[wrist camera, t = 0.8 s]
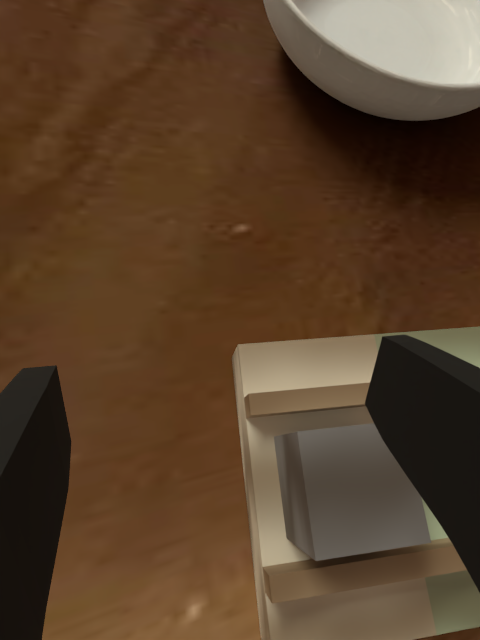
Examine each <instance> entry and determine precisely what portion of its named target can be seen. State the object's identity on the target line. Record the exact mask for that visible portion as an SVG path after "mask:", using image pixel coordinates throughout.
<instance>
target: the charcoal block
mask: <svg viewBox="0 0 480 640" xmlns="http://www.w3.org/2000/svg"><path fill="white" fill-rule="evenodd" d="M274 443H275V451H276V459H277V467H278V475H279V482H280V490H281V498H282V506H283V514H284V522H285V530H286V538H287V539H288V540H290V541H291V542H292V543H293V544H295V545H296V546H297V547H298V548H300V549H301V550H302V551H304V552H305V553H306V554H307V555H309V556H310V557H311V558H312V559H314V560H315V561H320V560H326V559H332V558H339V557H345V556H351V555H357V554H364V553H370V552H376V551H383V550H389V549H395V548H402V547H408V546H414V545H421V544H427V543H431V539H430V534H429V530H428V525H427V520H426V516H425V511H424V507H423V502H422V497H421V496H420V494H419V493H418V491H417V490H416V488H415V487H414V486H413V484H412V483H411V481H410V480H409V478H408V477H407V475H406V474H405V473H404V471H403V470H402V468H401V467H400V465H399V464H398V462H397V461H396V459H395V458H394V456H393V455H392V453H391V452H390V450H389V449H388V447H387V446H386V444H385V443H384V441H383V439H382V438H381V436H380V434H379V432H378V430H377V428H376V426H375V424H374V423H371V424H362V425H353V426H344V427H334V428H325V429H316V430H307V431H297V432H293V433H288V434H284V435H279V436H275V437H274Z"/></svg>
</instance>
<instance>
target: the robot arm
mask: <svg viewBox="0 0 480 640" xmlns="http://www.w3.org/2000/svg"><path fill="white" fill-rule="evenodd" d="M365 405H366V407H367V409H368V411H369V414H370V416H371V418H372V420H373V422H374V424H375V426H376V428H377V430H378V432H379V434H380V436H381V438H382V439H383V441H384V443H385V444H386V446H387V447H388V449H389V450H390V452H391V453H392V455H393V456H394V458H395V459H396V461H397V462H398V464H399V465H400V467H401V468H402V470H403V471H404V473H405V474H406V475H407V477H408V478H409V480H410V481H411V483H412V484H413V486H414V487H415V488H416V490H417V491H418V493H419V494H420V496H421V497H422V499H423V500H424V502H425V503H426V504H427V506H428V507H429V509H430V510H431V512H432V513H433V515H434V516H435V518H436V519H437V520H438V522H439V523H440V525H441V527H442V528H443V530H444V531H445V533H446V534H447V536H448V538H449V539H450V541H451V542H452V544H453V546H454V547H455V549H456V551H457V553H458V555H459V556H460V558H461V560H462V562H463V564H464V565H465V567H466V569H467V571H468V573H469V574H470V576H471V578H472V580H473V582H474V583H475V585H476V587H477V589H478V591H479V593H480V368H479V367H477V366H475V365H473V364H471V363H468V362H466V361H464V360H462V359H460V358H458V357H456V356H454V355H452V354H450V353H448V352H445V351H443V350H441V349H439V348H437V347H435V346H432V345H430V344H428V343H426V342H423V341H421V340H418V339H416V338H413V337H411V336H408V335H393V336H382V340H381V343H380V347H379V351H378V355H377V358H376V362H375V366H374V370H373V374H372V377H371V381H370V385H369V389H368V392H367V396H366V400H365ZM70 453H71V438H70V433H69V427H68V422H67V417H66V412H65V407H64V402H63V397H62V391H61V386H60V381H59V376H58V371H57V366H45V367H34V368H23V369H22V370H21V371H20V372H19V373H18V374H17V375H16V376H15V377H14V378H13V380H12V381H11V382H10V383H9V384H8V385H7V386H6V388H5V389H4V390H3V391H2V392H1V393H0V640H42V633H43V626H44V619H45V612H46V606H47V601H48V595H49V590H50V585H51V579H52V574H53V569H54V563H55V558H56V553H57V547H58V542H59V537H60V531H61V526H62V520H63V515H64V509H65V504H66V498H67V493H68V485H69V470H70Z"/></svg>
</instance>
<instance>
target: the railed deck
mask: <svg viewBox="0 0 480 640" xmlns="http://www.w3.org/2000/svg"><path fill="white" fill-rule="evenodd" d="M393 335H408V336H411V337H413V338H416V339H418V340H421V341H423V342H426V343H428V344H430V345H432V346H435V347H437V348H439V349H441V350H443V351H445V352H448V353H450V354H452V355H454V356H456V357H458V358H460V359H462V360H464V361H466V362H468V363H471V364H473V365H475V366H477V367H479V368H480V327H468V328H455V329H441V330H427V331H414V332H400V333H387V334H373V335H360V336H346V337H333V338H319V339H306V340H292V341H278V342H265V343H251V344H238V346H237V348H236V350H235V352H234V354H233V356H232V365H233V374H234V384H235V393H236V403H237V413H238V422H239V432H240V441H241V451H242V460H243V470H244V480H245V489H246V499H247V508H248V518H249V528H250V537H251V547H252V556H253V566H254V576H255V585H256V595H257V604H258V614H259V624H260V633H261V639H262V640H414V639H419V638H425V637H430V636H435V635H440V634H445V633H450V632H455V631H460V630H465V629H471V628H476V627H480V593H479V591H478V589H477V587H476V585H475V583H474V582H473V580H472V578H471V576H470V574H469V573H468V571H467V569H466V567H465V565H464V564H463V562H462V560H461V558H460V556H459V555H458V553H457V551H456V549H455V547H454V546H453V544H452V542H451V541H450V539H449V538H448V536H447V534H446V533H445V531H444V530H443V528H442V527H441V525H440V523H439V522H438V520H437V519H436V518H435V516H434V515H433V513H432V512H431V510H430V509H429V507H428V506H427V504H426V503H425V502H424V500H423V499H422V502H423V507H424V511H425V516H426V520H427V525H428V530H429V534H430V539H431V543H427V544H421V545H414V546H408V547H402V548H395V549H389V550H383V551H376V552H370V553H364V554H357V555H351V556H345V557H339V558H332V559H326V560H320V561H315V560H314V559H312V558H311V557H310V556H309V555H307V554H306V553H305V552H304V551H302V550H301V549H300V548H298V547H297V546H296V545H295V544H293V543H292V542H291V541H290V540H288V539H287V538H286V530H285V522H284V514H283V506H282V498H281V490H280V482H279V475H278V467H277V459H276V451H275V443H274V437H275V436H279V435H284V434H288V433H293V432H297V431H307V430H316V429H325V428H334V427H344V426H353V425H362V424H371V423H374V422H373V420H372V418H371V416H370V414H369V411H368V409H367V407H366V405H365V400H366V396H367V392H368V389H369V385H370V381H371V377H372V374H373V370H374V366H375V362H376V358H377V355H378V351H379V347H380V343H381V340H382V336H393Z"/></svg>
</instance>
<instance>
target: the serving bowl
mask: <svg viewBox="0 0 480 640" xmlns="http://www.w3.org/2000/svg"><path fill="white" fill-rule="evenodd" d="M263 2H264V6H265V10H266V13H267V16H268V19H269V21H270V24H271V26H272V29H273V31H274V33H275V35H276V37H277V39H278V41H279V42H280V44H281V46H282V47H283V49H284V50H285V52H286V53H287V55H288V56H289V58H290V59H291V60H292V61H293V63H294V64H295V65H296V66H297V67H298V69H299V70H300V71H301V72H302V73H303V74H304V75H305V76H306V77H307V78H308V79H309V80H310V81H312V82H313V83H314V84H315V85H316V86H318V87H319V88H320V89H322V90H323V91H324V92H326V93H327V94H329V95H330V96H332V97H333V98H335V99H337V100H339V101H340V102H342V103H344V104H346V105H348V106H350V107H352V108H355V109H357V110H360V111H362V112H365V113H368V114H371V115H375V116H379V117H384V118H389V119H395V120H406V121H424V120H436V119H442V118H447V117H451V116H456V115H459V114H462V113H465V112H468V111H471V110H473V109H476V108H478V107H480V0H263Z"/></svg>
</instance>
